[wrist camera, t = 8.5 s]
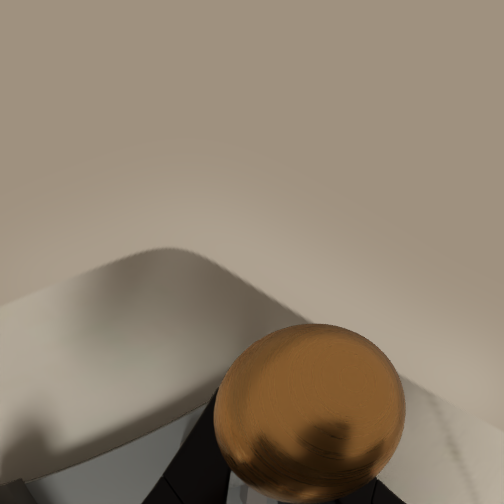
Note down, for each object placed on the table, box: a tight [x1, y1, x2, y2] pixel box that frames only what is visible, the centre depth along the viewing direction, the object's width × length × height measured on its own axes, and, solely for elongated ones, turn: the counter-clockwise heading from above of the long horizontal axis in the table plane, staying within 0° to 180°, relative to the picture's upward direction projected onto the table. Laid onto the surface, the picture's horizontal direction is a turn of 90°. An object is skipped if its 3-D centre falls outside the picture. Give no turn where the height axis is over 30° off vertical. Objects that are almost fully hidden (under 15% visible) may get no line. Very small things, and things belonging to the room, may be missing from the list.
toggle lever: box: [214, 324, 406, 504], centre depth 7 cm, size 3×3×11 cm
